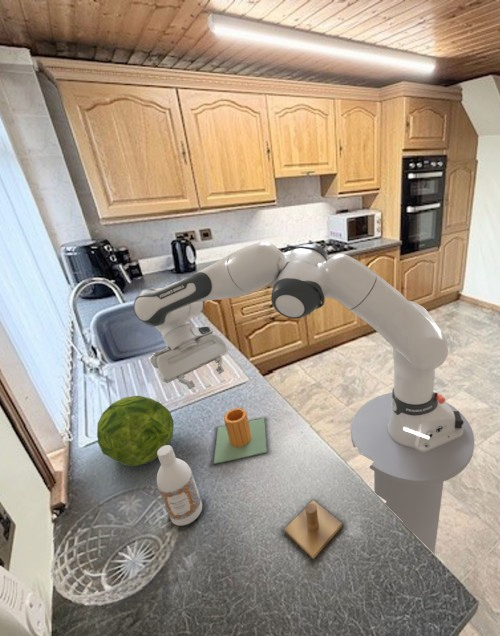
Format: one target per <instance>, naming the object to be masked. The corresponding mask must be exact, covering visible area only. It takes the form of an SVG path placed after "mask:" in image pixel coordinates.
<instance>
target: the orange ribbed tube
mask: <svg viewBox="0 0 500 636" xmlns="http://www.w3.org/2000/svg"><path fill="white" fill-rule="evenodd" d="M223 421H224V424H225V425H224V426H226V429H227V433H228V437H229V441H230V444H231V445H232V446H234V447H241V446H244V445H246V444H247V443H249V441H250V440H251V432H250V427H249V422H248V421H249V417H248V414H247V411H246V409H244V408H242V407H235V408H232V409H229V410H228V411H226V413H225V414H224V415H223Z"/></svg>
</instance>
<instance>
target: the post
mask: <svg viewBox="0 0 500 636" xmlns="http://www.w3.org/2000/svg"><path fill="white" fill-rule="evenodd" d="M342 527H343V523H342V522H341V521H340V520H338V519H337V518H336V517H335V516H334V515H333V514H331V513H330V512H329V511H327V510H326V509H325V507H323V506H321V505H320V504H319V503H318V502H316V501H315V500H314V499H313V500H312V501H311V502H309V503H308V504H306V506H305V508H304V509H303V510H301V512H300V513H299V514H298V515H297V516H296V517H295V518H294V519H293V520H292V521H291V522H290V523H289V524H288V525H287V526H286V527H285V528H284V530H283V531H284V533H285V534H286V535H287V536H288V537H289V538H290V539H292V540H293V542H295V543H296V544H297V545H298V546H299V547H300V548H301V549H302V550H303V551H304V552H305V553H306V554H308V556H309V557H310V558H311V559H312V560H315V558H316V557H317V556H318V555H319V554H320V552H321V551H322V550H323V549H324V548H325V547H326V545H327V544H328V543H329V542H330V541H331V540H332V539H333V537H334V536H335V535H336V534H337V533H338V532H339V530H340V529H341V528H342Z"/></svg>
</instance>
